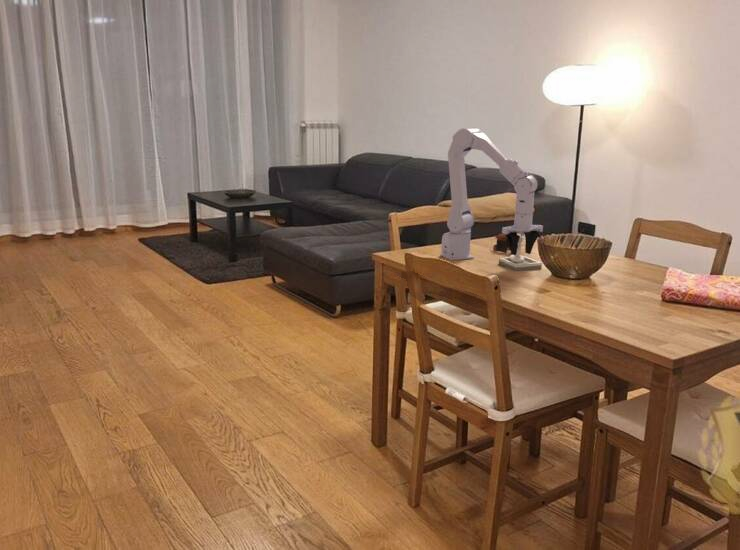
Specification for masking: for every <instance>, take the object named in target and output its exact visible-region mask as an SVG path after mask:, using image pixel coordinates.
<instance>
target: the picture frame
mask: <svg viewBox="0 0 740 550" xmlns="http://www.w3.org/2000/svg"><path fill="white" fill-rule="evenodd" d="M521 256H522V257H524V262H521V263H518V262H514V261H511V260H510V256H506V257H498V265H499V266H500V265H501V266H502V267H505V268H507V269H510V270H512V271H514V272H517V271H518V272H521V271H532V270H541V269H542V265H543V263H542V262H541V261H538V260H536V259H533V258H531V257H528V256H525V255H521Z"/></svg>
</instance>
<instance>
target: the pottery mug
mask: <svg viewBox="0 0 740 550" xmlns="http://www.w3.org/2000/svg"><path fill="white" fill-rule="evenodd" d="M495 239H496V244H494V245H493V252H496V251H497V252H500V253H504V254H507V252H508V251H510V252H511V250H510V245H509V242H508V239H507V237H506V235H505V234H503V233H502V230H501V231H500V230H499V232H498V234H497V235H496V236H495ZM518 242H519V241H518ZM517 248H518V245H517Z"/></svg>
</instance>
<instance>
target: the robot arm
mask: <svg viewBox="0 0 740 550" xmlns="http://www.w3.org/2000/svg"><path fill="white" fill-rule="evenodd" d="M471 150H478V151H482V152H483V153H484V154H485V155H486V156H488V158H489V159H491V160H492V161H493V162H495V164H496V165H498V167H499V173H500V174H501V175H503V177H504V178H505V180H507V181H508V182H509V183H510V184H511V185H513V188H514V191H515V193H516V198H515V206H514V208H515V209H514V220H513V221H514V222H513V225H509V226H505V227H504V226H502V228H501V231H502V233H503V234H505V235H506V237H507V239H508V242H509V245H510V250H511V251H510V250H509V251H510V254H511V255H516V254H517V245H518V241H519V238H520V236H521V235H520V233H522V232H523V234H525V235H524V240H525V245H524V247H525V248H524V252H525V253H526V254H527V255H531V254H532V251H533V248H534V245H535V244H536V241H538V240H537V239H538V238H539V237H540V232H541V233H542V232H543V231H544V230H543V229H544V225H541V224H533V220H534V219H533V218H534V217H533V216H534V208H535V207H534V206H535V205H534V204H535V191H536V190H537V189H538V184H539V183H538V180H537V178H536V177H535V176H534V175H531V174H530V173H529V172H528V171H525V170H524V168H522V167H521V166H520V165H519V161H518V160H517V159H515V160H514V159H513V158H507V157H506V156H505V155H504V154H503V153H502V152H501V151H500V150H499V148H498V147H497V146H496V145H495V144H494V143H493V141H491V139H490V138H489V137H488V136H487V135H486V134H485V133H484V132H482V130H481V129H480V128H477V127H472V128H460V129H458V130H457V131H456V132H455V133H454V134H453V135H452V141H451V144H450V145H449V149H448V151H447V157H448V170H449V171H448V172H449V185H450V198H451V206H450V208H449V209H448V218H447V220H446V225H447V228H448V229H449V231H448V232H445V233H443V234H442V237H441V249H440V251H441V252H440V256H441V257H444V258H445V259H447V260H450V261H455V260H456V261H457V260H466V259H468V260H469V259H475V256H473V255H472V254H470V251H471V249H470V248H471V237H472V236H471V235H472V233H471V232H472V230H471V229H472V227H473V225H475V216H474V215H473V213H472V207H471V206H470V204H469V202H468V193H467V191H468V189H467V178H466V165H465V157H466V156H467V154H469V153H470V151H471ZM518 233H519V234H518ZM525 253H524V254H525Z"/></svg>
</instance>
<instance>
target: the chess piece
mask: <svg viewBox="0 0 740 550" xmlns="http://www.w3.org/2000/svg"><path fill="white" fill-rule="evenodd" d="M519 236H520V238H519V242H518V248H517V254H516V255H512V254H511V255H510V256H509V257H510V260H511V261H514V262H518V263H521V262H524V257H522V256H523V255H521V251H522V250H521V249H522V246H524V243H523V242H524V240H525V233H524V232H522V233H519Z"/></svg>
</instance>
